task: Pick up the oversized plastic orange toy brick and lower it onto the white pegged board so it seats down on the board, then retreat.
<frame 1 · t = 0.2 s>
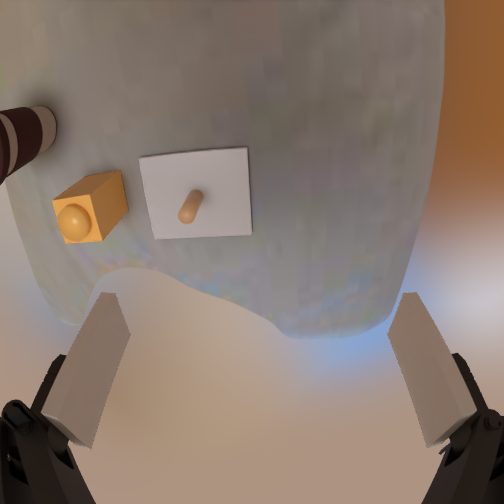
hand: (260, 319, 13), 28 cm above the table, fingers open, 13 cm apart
white pegged board: (197, 194, 39), on the table
orange toy brick: (106, 192, 39), on the table
coffee cup: (41, 128, 33), on the table
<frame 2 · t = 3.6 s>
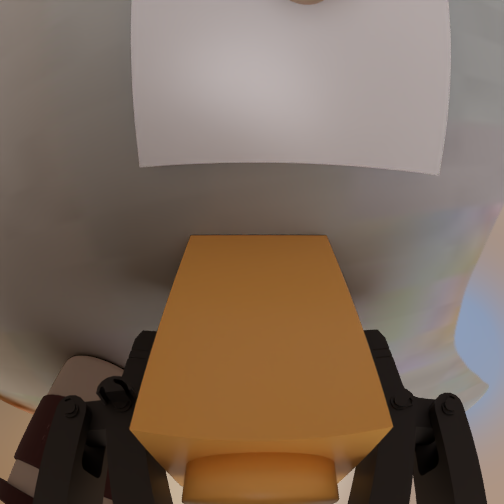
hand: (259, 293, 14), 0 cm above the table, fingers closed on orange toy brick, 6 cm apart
orange toy brick: (258, 289, 15), on the table, touching gripper
coffee cup: (106, 379, 20), on the table
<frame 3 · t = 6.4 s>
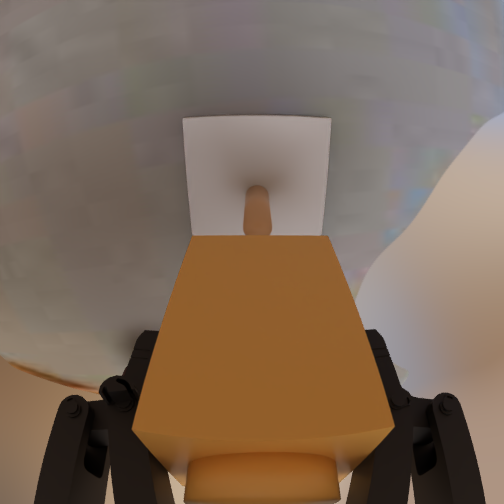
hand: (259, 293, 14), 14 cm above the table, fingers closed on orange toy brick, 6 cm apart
white pegged board: (256, 192, 26), on the table
orange toy brick: (259, 289, 15), point 14 cm above the table, touching gripper
when the fingers open (3 cm above the table, at t = 9.1 s): orange toy brick drops 2 cm, resting on white pegged board.
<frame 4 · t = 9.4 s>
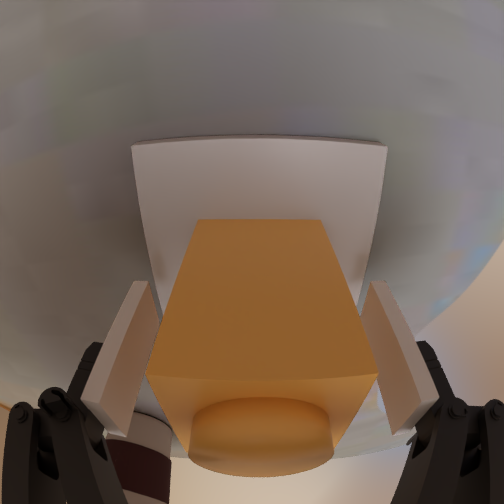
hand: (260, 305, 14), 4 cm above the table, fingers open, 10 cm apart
white pegged board: (259, 260, 17), on the table
orange toy brick: (259, 270, 16), point 1 cm above the table, touching white pegged board
coffee cup: (143, 422, 30), on the table
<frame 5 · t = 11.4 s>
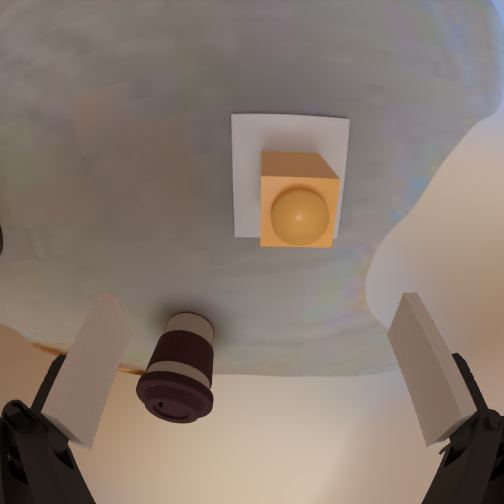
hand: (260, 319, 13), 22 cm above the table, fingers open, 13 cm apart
white pegged board: (288, 177, 32), on the table
orange toy brick: (289, 179, 31), point 1 cm above the table, touching white pegged board
coffee cup: (191, 327, 44), on the table
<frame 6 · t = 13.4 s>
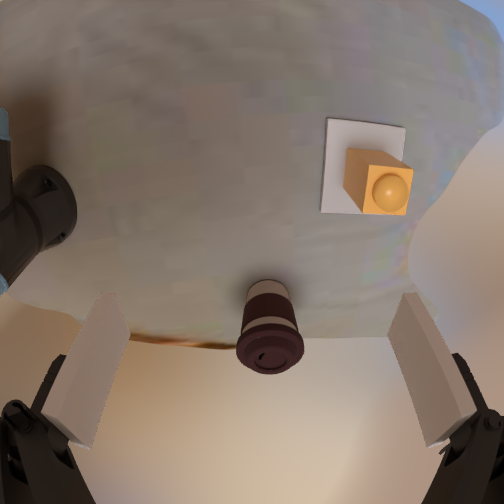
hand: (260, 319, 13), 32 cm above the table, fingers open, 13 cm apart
white pegged board: (362, 168, 41), on the table
orange toy brick: (364, 169, 40), point 1 cm above the table, touching white pegged board
coffee cup: (267, 294, 53), on the table
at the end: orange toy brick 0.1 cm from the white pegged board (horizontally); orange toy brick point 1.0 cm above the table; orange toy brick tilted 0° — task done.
